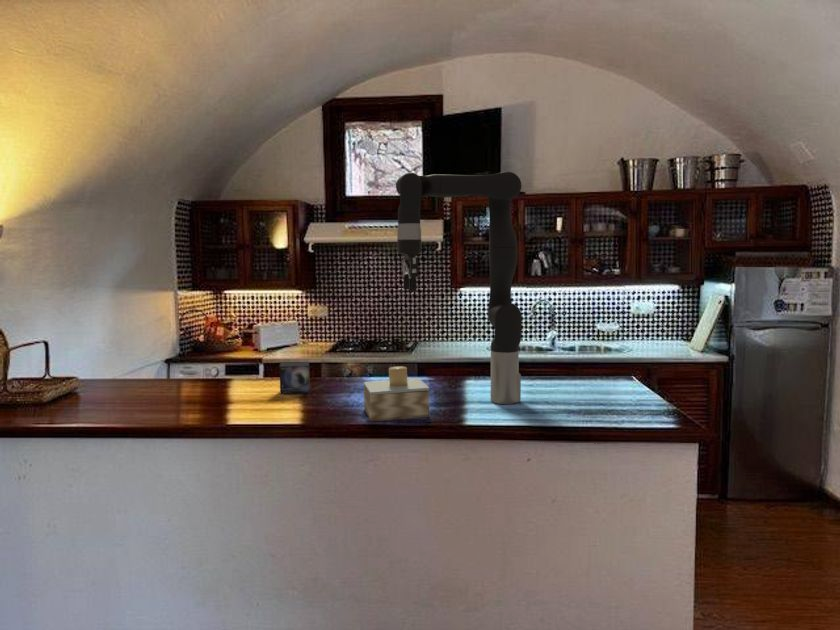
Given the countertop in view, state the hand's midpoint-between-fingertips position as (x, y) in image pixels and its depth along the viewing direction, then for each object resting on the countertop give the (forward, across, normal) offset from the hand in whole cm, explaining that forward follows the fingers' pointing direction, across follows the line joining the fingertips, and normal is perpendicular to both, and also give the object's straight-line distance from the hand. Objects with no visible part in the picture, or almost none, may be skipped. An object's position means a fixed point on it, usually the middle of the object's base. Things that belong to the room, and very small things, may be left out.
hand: (409, 290), depth 188 cm
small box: (+38, +32, +36) cm, 62 cm away
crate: (+38, -5, +6) cm, 39 cm away
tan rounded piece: (+29, -5, +5) cm, 30 cm away
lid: (+30, -5, +6) cm, 31 cm away
